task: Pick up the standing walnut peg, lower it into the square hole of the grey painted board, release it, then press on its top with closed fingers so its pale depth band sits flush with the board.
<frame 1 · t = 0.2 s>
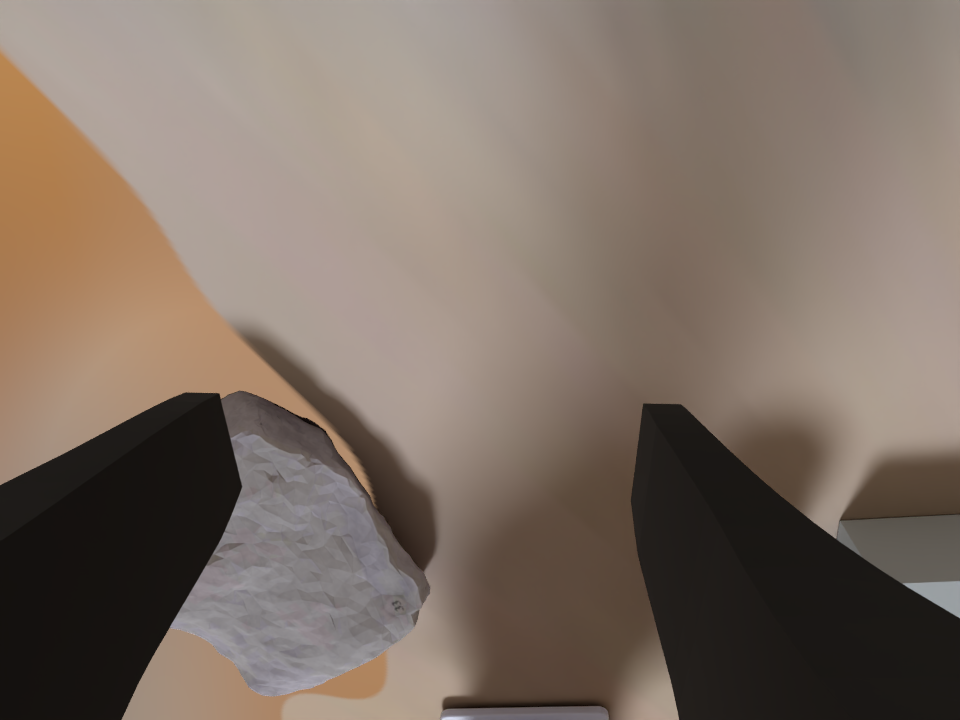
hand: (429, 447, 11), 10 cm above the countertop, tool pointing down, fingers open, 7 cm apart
stone block: (293, 514, 26), on the countertop
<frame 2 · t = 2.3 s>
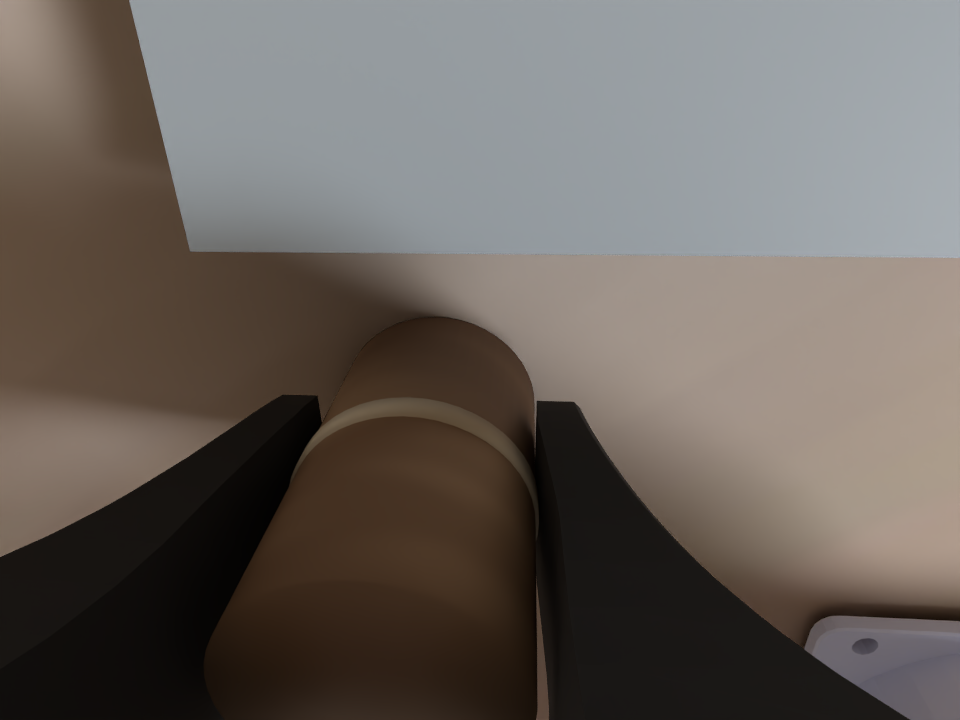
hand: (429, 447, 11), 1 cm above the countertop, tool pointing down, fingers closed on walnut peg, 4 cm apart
walnut peg: (440, 402, 12), on the countertop, touching gripper
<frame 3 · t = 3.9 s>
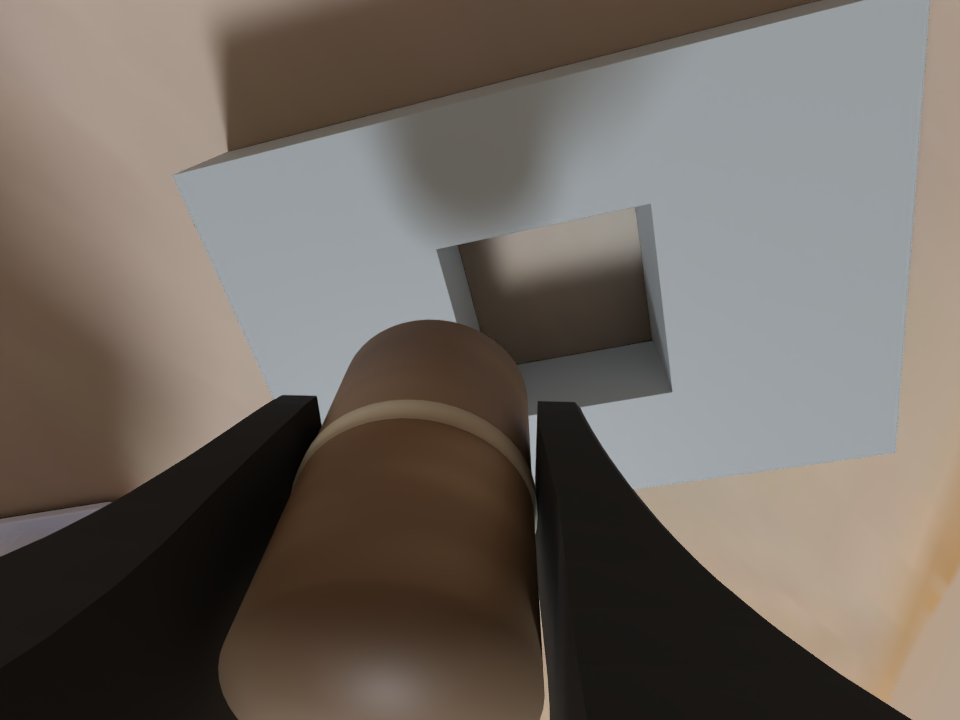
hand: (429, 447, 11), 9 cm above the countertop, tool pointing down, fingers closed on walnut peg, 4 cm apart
walnut peg: (435, 403, 12), point 7 cm above the countertop, touching gripper
grey board: (554, 280, 18), on the countertop
when the fingers open (3 cm above the countertop, at t = 5.7 s): walnut peg drops 2 cm, resting in grey board.
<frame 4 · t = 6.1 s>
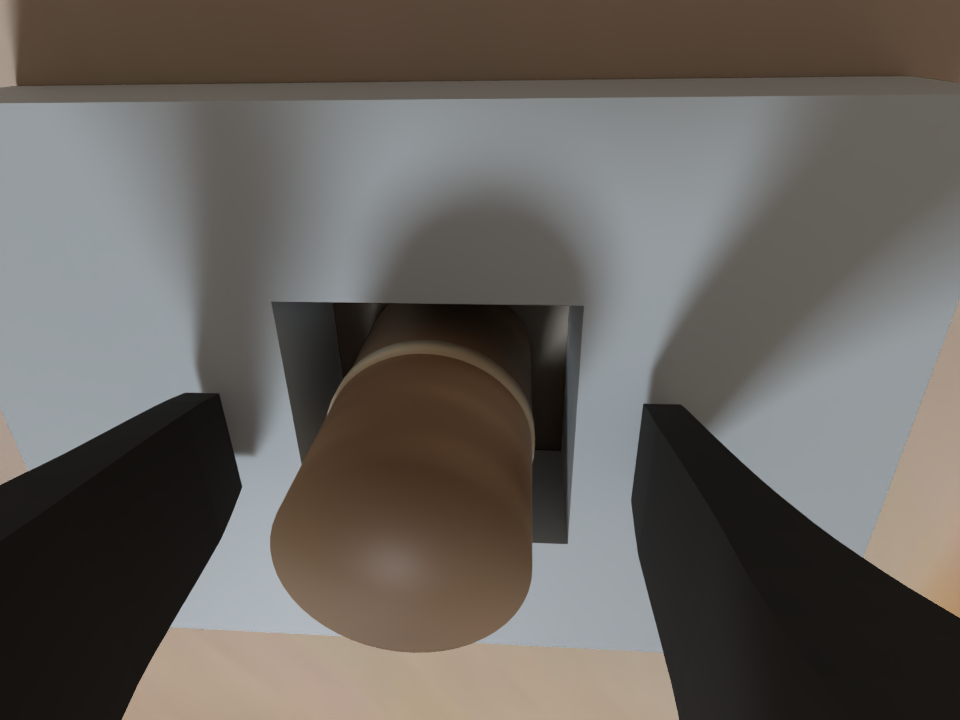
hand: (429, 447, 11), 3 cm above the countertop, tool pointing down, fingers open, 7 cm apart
walnut peg: (449, 358, 14), resting in grey board
grey board: (451, 355, 14), on the countertop
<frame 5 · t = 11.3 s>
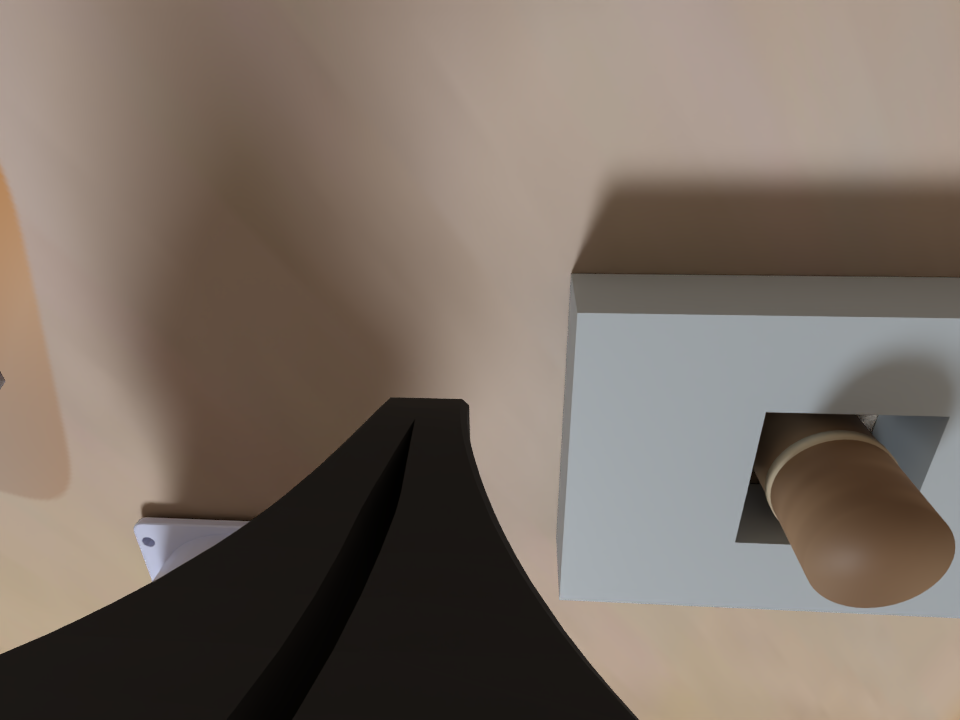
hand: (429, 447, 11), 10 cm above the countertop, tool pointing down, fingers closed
walnut peg: (795, 430, 22), resting in grey board
grey board: (797, 427, 22), on the countertop
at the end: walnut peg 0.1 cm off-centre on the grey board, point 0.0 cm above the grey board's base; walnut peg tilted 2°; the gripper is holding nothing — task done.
